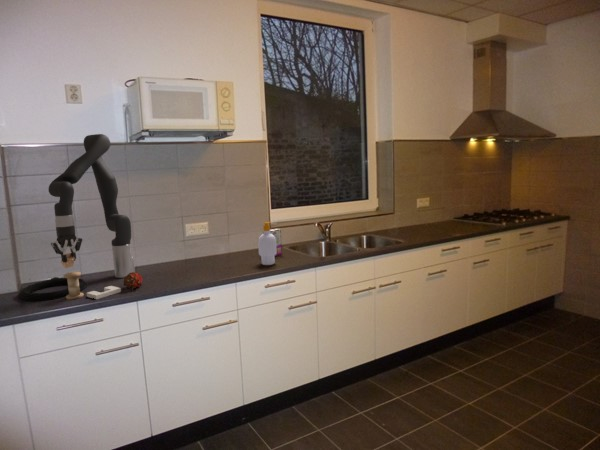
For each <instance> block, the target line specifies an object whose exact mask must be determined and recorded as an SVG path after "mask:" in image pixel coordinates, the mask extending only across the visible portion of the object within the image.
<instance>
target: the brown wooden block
mask: <svg viewBox="0 0 600 450" xmlns="http://www.w3.org/2000/svg"><path fill="white" fill-rule="evenodd" d="M65 255H66V257H67V258H66V259H67V262H66V263H64V262H63V261H62V259H61V261H60V263H61V265H62V266H63V267H64V268H65V269H67V268H72V267H74V264H75V261H76V259H75V258H74V257H73V256H72V255H71V252H66V254H65ZM74 260H75V261H74Z"/></svg>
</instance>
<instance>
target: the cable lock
mask: <svg viewBox="0 0 600 450" xmlns="http://www.w3.org/2000/svg"><path fill="white" fill-rule="evenodd" d="M78 279H79V288H80V292H82V291H83V290H84V289H85V288H86V285H87V283H86V281H85V280H84V279H82V278H78ZM65 285H66V286H68V281H67V278H64V277H59V276H58V277H57V276H54V277H52V278H50V279H47V280H43V281H40V282H39V281H38V282H35V283H32V284H29V285H27V286H25V287H23V288H22V289H21V290H20V291H19V292H18V293H19V294H18V295H19V297H20V298H21V300H25V301H26V302H27V301H31V302H41V301H51V300H54V299H62V298H66V296H67V295H69V289H68V288H64V289H61V290H55V291H48V292H36V291H38V290H42V289H46V288H52V287H55V286H57V287H58V286H65Z"/></svg>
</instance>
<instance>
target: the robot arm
mask: <svg viewBox="0 0 600 450" xmlns="http://www.w3.org/2000/svg"><path fill="white" fill-rule="evenodd" d="M83 147H84V150H85V152H84V153H83V154H82V155H80V156H79V157H77V158H76V159H74V160H73V161H72V162H71V163H70V164H69V166H68V167H66V169H65V170H64V172H63V173H61V174H60V175H58V176H57V177H56V178H55V179H52V181H51V182H50V184H49V185H48V187H47V188H48V193H49V194H50V196H52V197H55V198H59V202H56V203H55V204H54V207H53V210H54V225H55V231H56V233H55V234H56V240H55V241H53V242H50V245H51V247H52V249H53V251H54V253H56V255H60V258H61V260H62V261H63V262H64V263H66V262H67V259H66V258H67V257H66V255H65V254H67V250H68V248H69V251H70V253H71V255H72V256H73V257H74V258H75V260H74V262H75V261H76V259H77V252H79V251H80V249H81V246H82V243H83V238H80V237H77V236H76V226H75V219H74V212H73V201H74V195H75V190H74V189H75V188H74V186H73V185H74V184H76V183H78V182H79V181H80V180H81V179H82V178H83V176H84V175H85V173H86V172H87V171H88V170H89V169H90V168H91V169H92V172H93V175H94V179H95V183H96V186H97V190H98V193H99V197H100V200H101V204H102V208H103V214H104V219H105V224H106V227H107V229H108V231H111V232H115V237H114V238H113V239H111V251H112V258H113V259H112V260H113V269H114V277H115V278H120V279H121V278H122V279H124V277H125V276H127V275H128V274H129V273H132V272H136V270H135V269H136V268H135V259H134V257H133V255H132V245H131V239H132V224H131V223H132V222H131V219H130V218H129V217H128V216H127V215H125V214H119V209H118V208H117V200H118V195H119V187H118V183H117V179H116V177H115V175H114V173H113V172H112V171H111V169H110V168H109V167H108V166H107V164H105V162H104V159H103V155H104V154H105V153H107V152H108V151H109V150H110V147H111V141H110V139H109V136H107V135H106V134H103V133H97V134H88V135H86V136H85V137H84V139H83Z"/></svg>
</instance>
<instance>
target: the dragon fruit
mask: <svg viewBox="0 0 600 450" xmlns="http://www.w3.org/2000/svg"><path fill="white" fill-rule="evenodd" d="M143 280H144V279H143V276H142V275H141V274H140V273H138V272H136V271H135V272H132V273H129V274H128V275H127V276H125V277H123V286H124V287H127V288H128V289H132V290H135V289H136V288H141V287H142V282H143Z"/></svg>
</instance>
